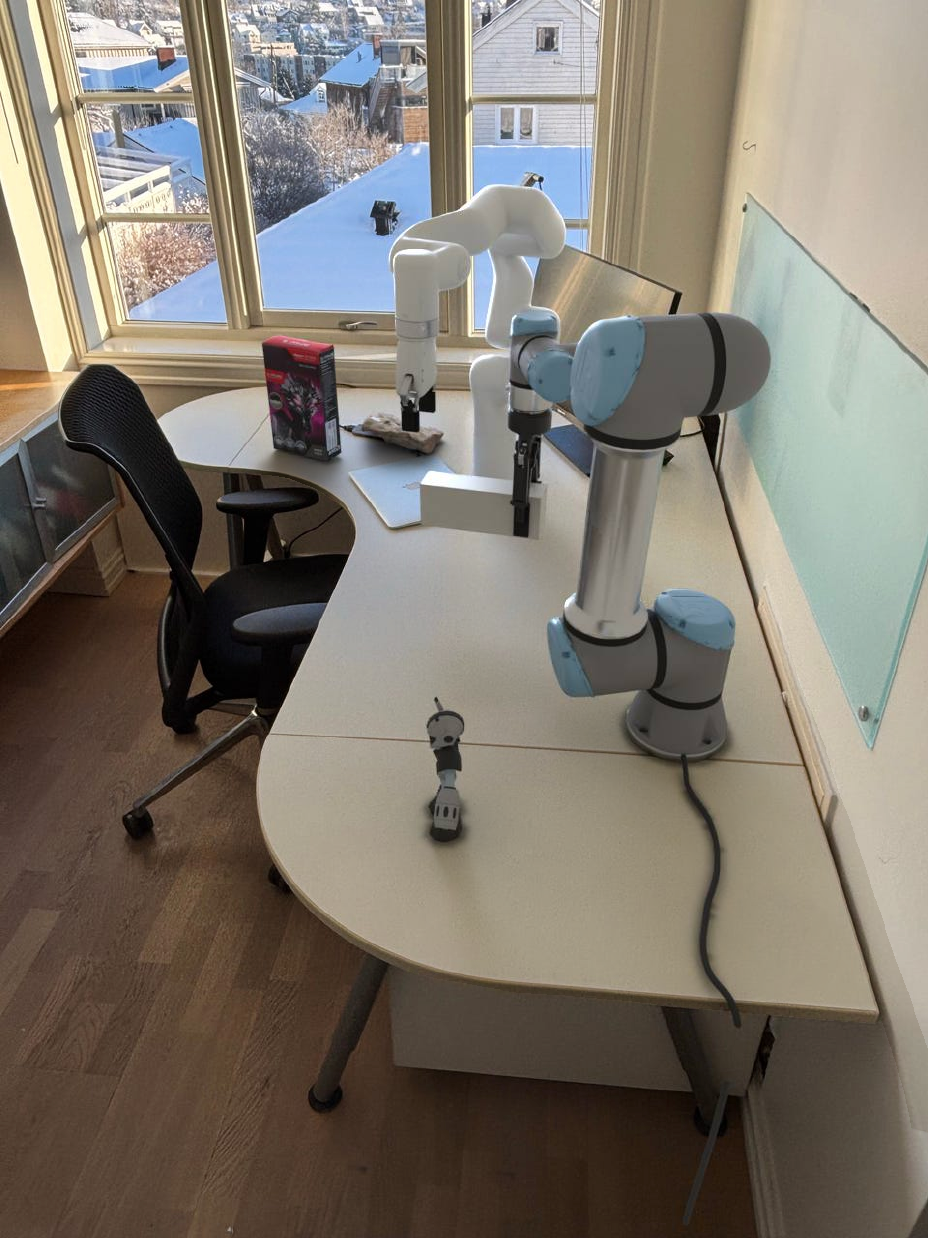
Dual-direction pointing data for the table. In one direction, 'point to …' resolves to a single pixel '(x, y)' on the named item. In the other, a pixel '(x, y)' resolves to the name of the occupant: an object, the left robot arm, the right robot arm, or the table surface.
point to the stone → (401, 433)
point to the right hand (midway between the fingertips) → (524, 527)
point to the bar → (477, 504)
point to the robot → (446, 772)
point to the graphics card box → (302, 396)
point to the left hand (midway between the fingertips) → (419, 421)
